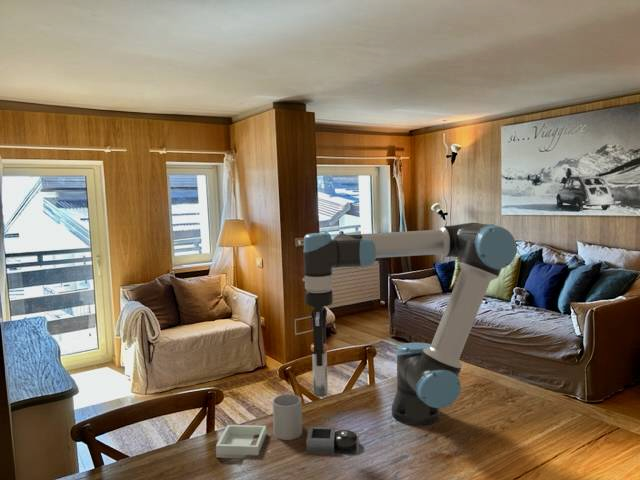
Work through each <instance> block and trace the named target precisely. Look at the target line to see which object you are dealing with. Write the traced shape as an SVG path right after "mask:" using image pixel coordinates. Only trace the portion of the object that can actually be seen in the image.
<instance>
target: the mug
mask: <svg viewBox="0 0 640 480" xmlns="http://www.w3.org/2000/svg"><path fill="white" fill-rule="evenodd" d="M302 410H303V409H302V398H301V397H300V396H299V395H296V394H290V393H289V394H288V393H285V394H279V395H277V396H275V397H274V399H272V421H273V422H272V423H273V428H272V429H273V433H272V434H273V435H274V437H275V438H276V439H279V440H282V441H286V440H287V441H291V440H295V439H297V438H299V437H301V436H302V435H303V417H302V416H303V413H302Z"/></svg>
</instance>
